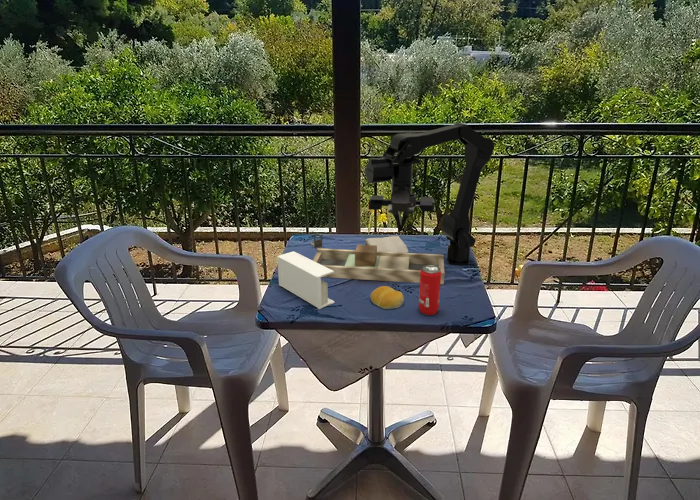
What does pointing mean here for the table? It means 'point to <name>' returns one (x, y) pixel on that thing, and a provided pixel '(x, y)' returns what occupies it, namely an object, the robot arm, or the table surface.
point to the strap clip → (317, 243)
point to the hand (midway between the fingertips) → (400, 231)
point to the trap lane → (378, 265)
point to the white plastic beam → (304, 278)
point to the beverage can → (429, 289)
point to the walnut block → (366, 255)
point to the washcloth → (388, 244)
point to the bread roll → (387, 297)
